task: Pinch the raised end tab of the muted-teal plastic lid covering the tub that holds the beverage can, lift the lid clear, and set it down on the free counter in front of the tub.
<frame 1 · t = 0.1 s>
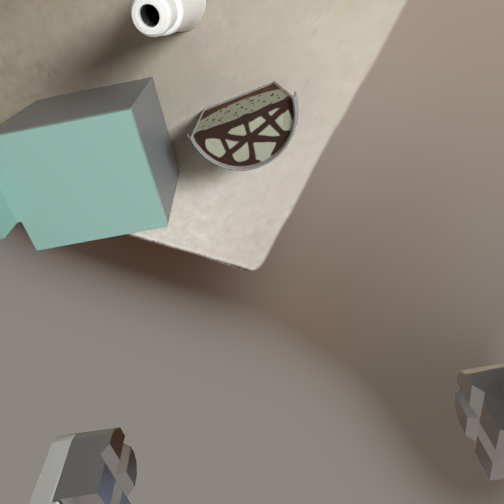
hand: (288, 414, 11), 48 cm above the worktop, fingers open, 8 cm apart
food container: (247, 119, 55), on the worktop
lid: (81, 182, 43), point 14 cm above the worktop, touching tub
tub: (112, 138, 55), on the worktop
cosmetic bottle: (178, 0, 47), on the worktop
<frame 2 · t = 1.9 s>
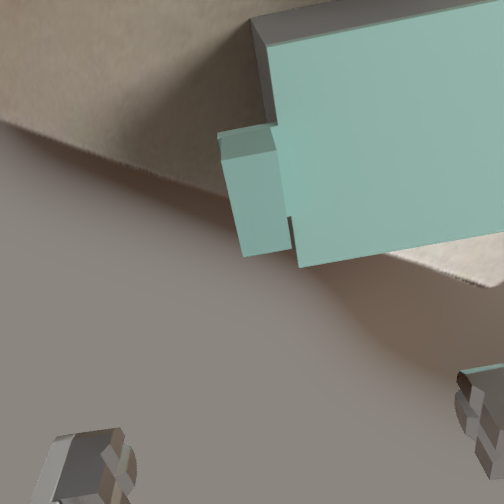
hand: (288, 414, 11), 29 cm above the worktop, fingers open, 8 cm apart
lid: (416, 142, 23), point 14 cm above the worktop, touching tub
tub: (350, 84, 35), on the worktop
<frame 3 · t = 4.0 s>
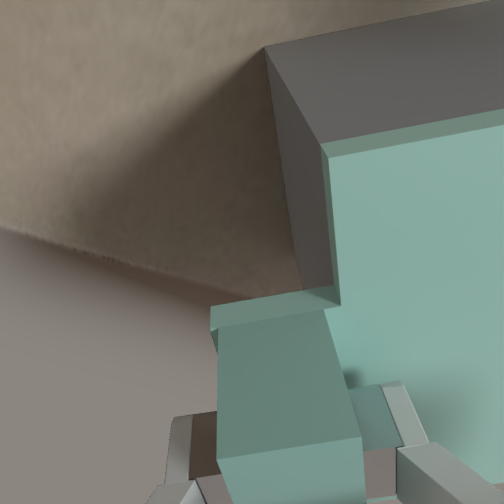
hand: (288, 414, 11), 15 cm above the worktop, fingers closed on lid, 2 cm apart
tub: (411, 141, 23), on the worktop
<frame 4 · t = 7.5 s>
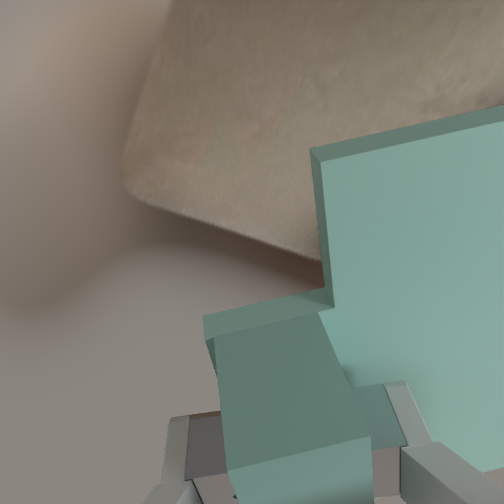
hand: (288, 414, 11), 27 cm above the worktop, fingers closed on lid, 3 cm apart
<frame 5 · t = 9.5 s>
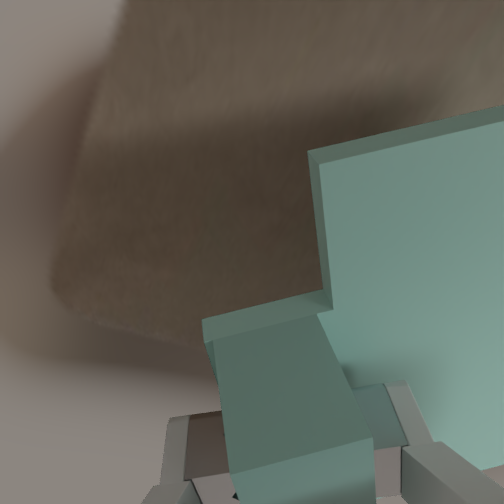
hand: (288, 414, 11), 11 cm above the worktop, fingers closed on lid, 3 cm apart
when the fingers open (4 cm above the worktop, at t = 11.1 s): lid drops 2 cm, on the worktop.
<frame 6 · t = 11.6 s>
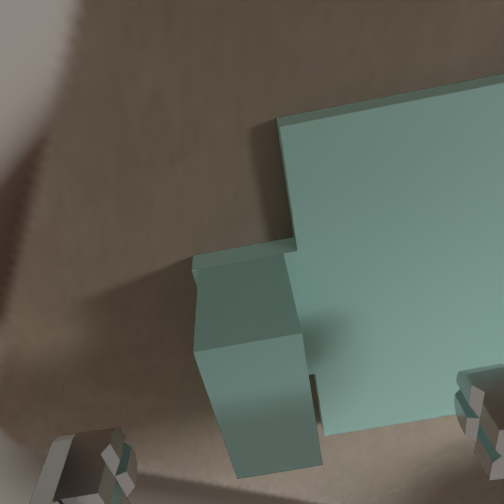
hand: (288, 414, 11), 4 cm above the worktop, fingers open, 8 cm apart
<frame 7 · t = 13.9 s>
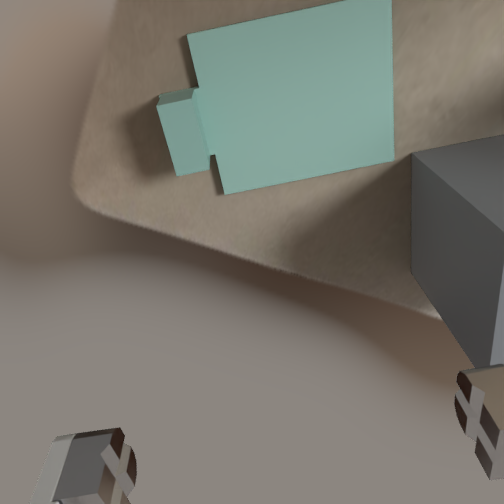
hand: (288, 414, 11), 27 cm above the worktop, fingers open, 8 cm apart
lid: (297, 100, 33), on the worktop
tub: (490, 202, 38), on the worktop
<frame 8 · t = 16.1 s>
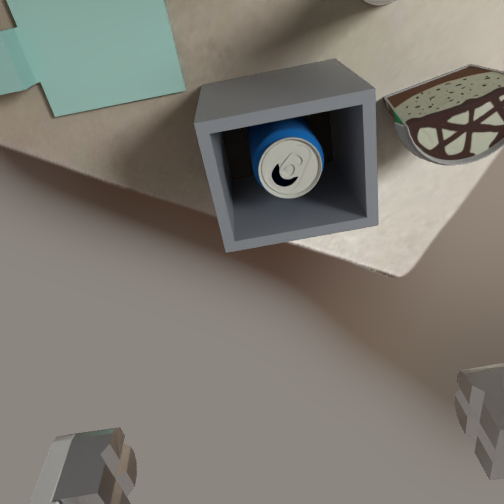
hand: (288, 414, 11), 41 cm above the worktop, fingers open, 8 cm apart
food container: (429, 107, 48), on the worktop
lid: (101, 40, 43), on the worktop
tub: (276, 128, 48), on the worktop
beverage can: (276, 128, 48), resting in tub
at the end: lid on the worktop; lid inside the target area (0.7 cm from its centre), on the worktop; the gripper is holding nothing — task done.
